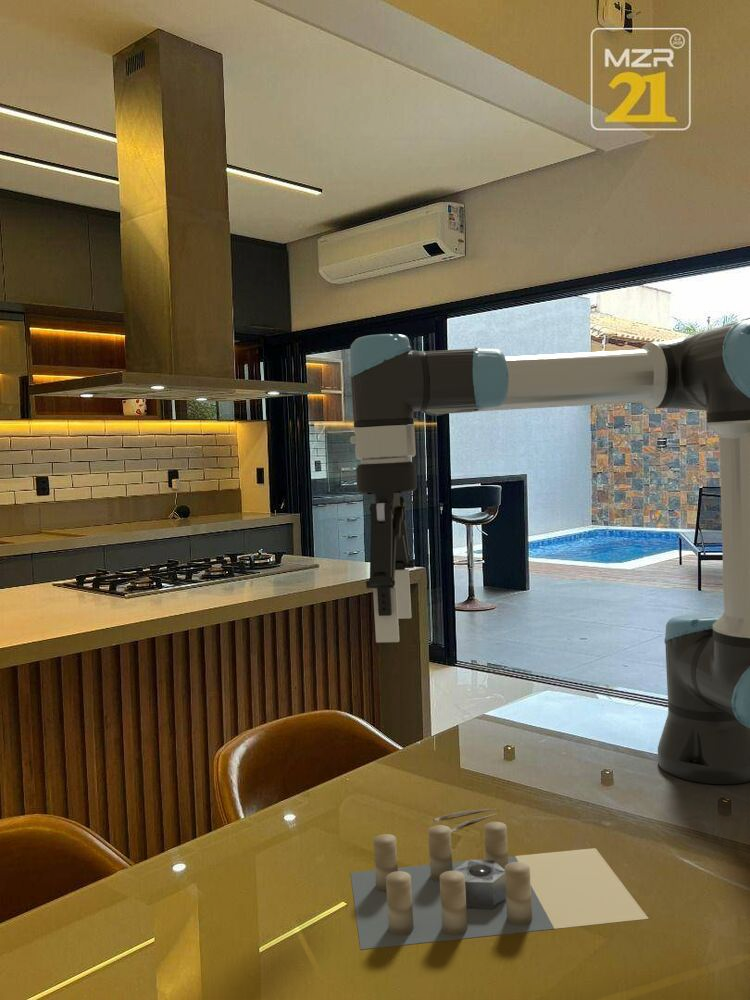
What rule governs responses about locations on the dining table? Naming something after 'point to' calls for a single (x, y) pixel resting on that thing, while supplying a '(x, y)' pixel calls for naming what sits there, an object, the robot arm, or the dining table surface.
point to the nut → (483, 884)
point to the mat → (554, 899)
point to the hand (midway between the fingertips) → (394, 629)
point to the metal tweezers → (462, 815)
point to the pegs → (449, 880)
